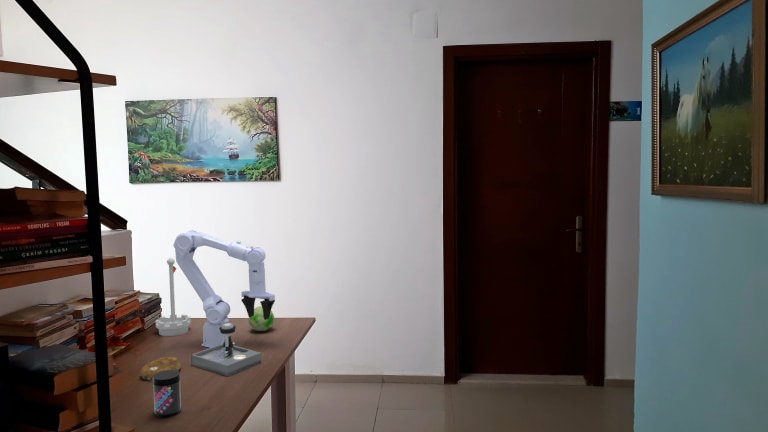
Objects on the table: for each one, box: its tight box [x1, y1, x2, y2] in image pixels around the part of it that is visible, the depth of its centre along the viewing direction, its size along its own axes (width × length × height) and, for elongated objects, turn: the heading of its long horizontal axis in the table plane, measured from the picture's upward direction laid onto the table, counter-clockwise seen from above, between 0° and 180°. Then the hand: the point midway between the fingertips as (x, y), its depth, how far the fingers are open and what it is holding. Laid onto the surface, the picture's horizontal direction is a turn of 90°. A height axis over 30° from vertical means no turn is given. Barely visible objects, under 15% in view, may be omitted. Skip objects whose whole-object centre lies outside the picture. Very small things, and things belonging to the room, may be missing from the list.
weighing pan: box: [200, 347, 245, 362], centre depth 177 cm, size 12×12×1 cm
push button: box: [219, 322, 237, 356], centre depth 178 cm, size 7×5×10 cm
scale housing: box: [190, 344, 262, 377], centre depth 176 cm, size 18×14×4 cm
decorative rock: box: [139, 356, 182, 383], centre depth 169 cm, size 11×4×15 cm
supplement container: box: [152, 370, 182, 418], centre depth 141 cm, size 7×7×10 cm
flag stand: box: [155, 257, 192, 337], centre depth 210 cm, size 13×13×30 cm
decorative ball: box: [248, 305, 275, 332], centre depth 211 cm, size 10×10×10 cm
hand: (258, 317), depth 194 cm, fingers open, 7 cm apart
